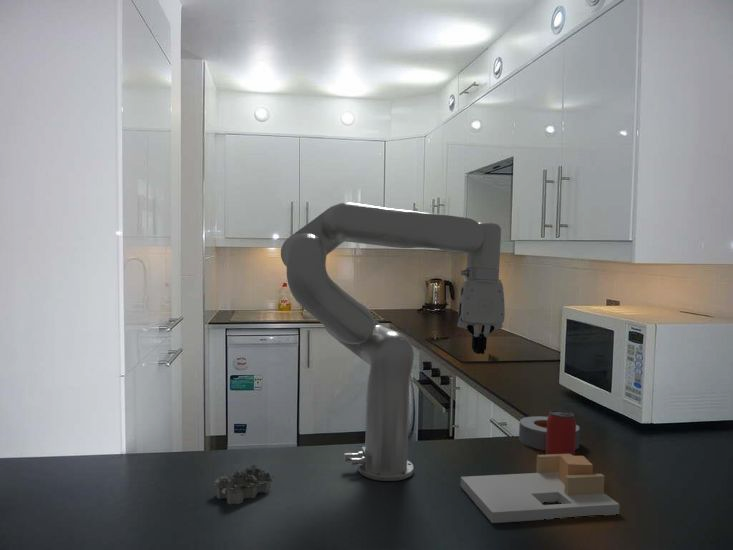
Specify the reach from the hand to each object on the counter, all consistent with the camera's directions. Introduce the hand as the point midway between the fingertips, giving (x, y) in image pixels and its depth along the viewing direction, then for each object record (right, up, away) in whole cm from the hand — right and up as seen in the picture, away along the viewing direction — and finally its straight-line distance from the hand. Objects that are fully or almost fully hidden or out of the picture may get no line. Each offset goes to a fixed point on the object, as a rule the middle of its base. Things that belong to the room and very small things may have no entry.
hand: (478, 352), depth 127 cm
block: (+17, -25, -15) cm, 34 cm away
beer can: (+20, -27, +2) cm, 34 cm away
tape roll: (+22, -27, +17) cm, 39 cm away
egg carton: (-51, -26, -19) cm, 60 cm away
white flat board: (+8, -27, -18) cm, 34 cm away
